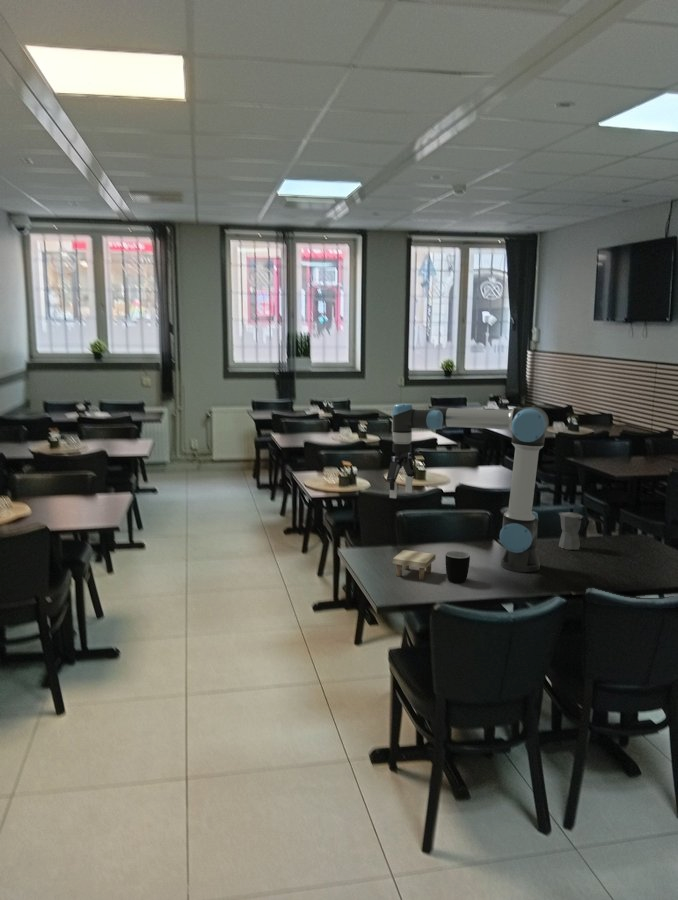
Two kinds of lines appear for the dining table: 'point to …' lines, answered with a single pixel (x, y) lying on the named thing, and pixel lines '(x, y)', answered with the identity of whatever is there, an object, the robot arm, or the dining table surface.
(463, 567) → the mug
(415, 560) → the footstool
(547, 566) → the dining table surface
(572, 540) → the coffeepot
